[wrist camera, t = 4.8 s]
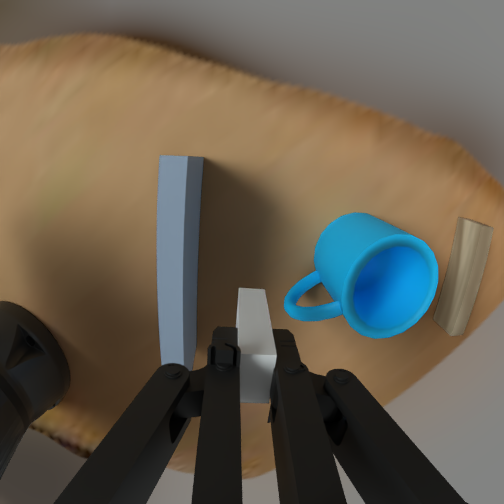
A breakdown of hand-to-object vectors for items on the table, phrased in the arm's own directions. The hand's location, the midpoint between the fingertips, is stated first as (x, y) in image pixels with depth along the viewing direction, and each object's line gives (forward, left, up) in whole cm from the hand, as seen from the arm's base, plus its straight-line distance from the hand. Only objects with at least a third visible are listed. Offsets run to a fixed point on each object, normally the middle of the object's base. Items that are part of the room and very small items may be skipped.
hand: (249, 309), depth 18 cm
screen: (-5, -1, -10) cm, 11 cm away
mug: (+9, 0, -10) cm, 13 cm away
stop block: (+23, 0, -10) cm, 25 cm away
